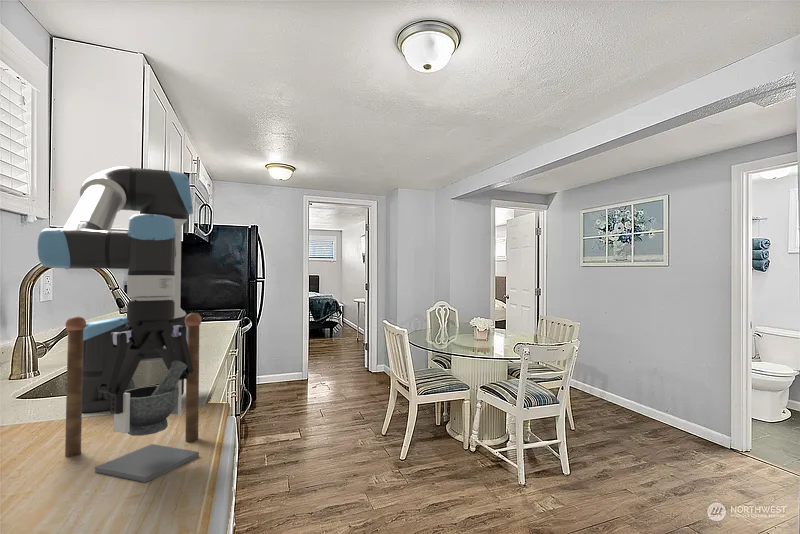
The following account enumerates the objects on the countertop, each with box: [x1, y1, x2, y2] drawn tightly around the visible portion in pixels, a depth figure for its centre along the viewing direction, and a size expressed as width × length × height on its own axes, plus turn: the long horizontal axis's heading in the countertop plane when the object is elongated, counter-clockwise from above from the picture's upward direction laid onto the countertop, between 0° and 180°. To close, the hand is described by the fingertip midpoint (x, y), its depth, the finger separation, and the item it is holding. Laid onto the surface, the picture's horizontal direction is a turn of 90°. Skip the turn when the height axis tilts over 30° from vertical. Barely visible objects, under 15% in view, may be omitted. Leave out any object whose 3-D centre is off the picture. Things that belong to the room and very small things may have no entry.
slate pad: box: [94, 443, 200, 483], centre depth 76 cm, size 11×12×1 cm
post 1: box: [64, 315, 87, 457], centre depth 81 cm, size 3×3×26 cm
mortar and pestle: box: [125, 360, 187, 437], centre depth 77 cm, size 11×9×12 cm
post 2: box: [184, 312, 202, 443], centre depth 88 cm, size 3×3×26 cm
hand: (149, 422), depth 76 cm, fingers closed on mortar and pestle, 10 cm apart
